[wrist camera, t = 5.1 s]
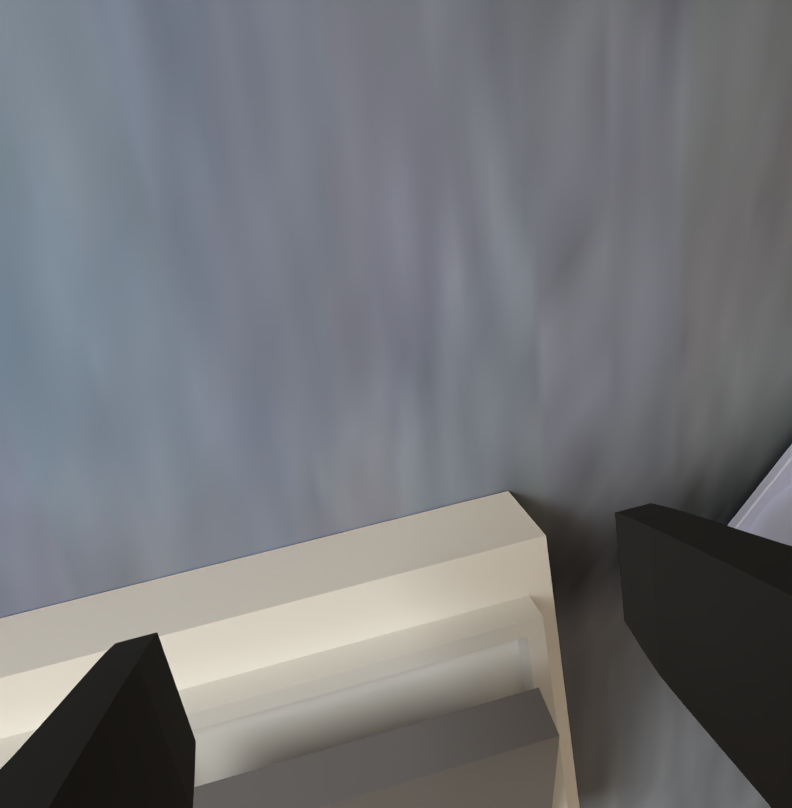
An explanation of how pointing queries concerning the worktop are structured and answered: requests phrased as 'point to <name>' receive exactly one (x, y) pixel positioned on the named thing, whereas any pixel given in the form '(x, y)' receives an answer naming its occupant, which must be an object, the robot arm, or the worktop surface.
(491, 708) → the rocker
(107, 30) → the worktop surface
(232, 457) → the worktop surface
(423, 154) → the worktop surface
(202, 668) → the rocker switch panel
